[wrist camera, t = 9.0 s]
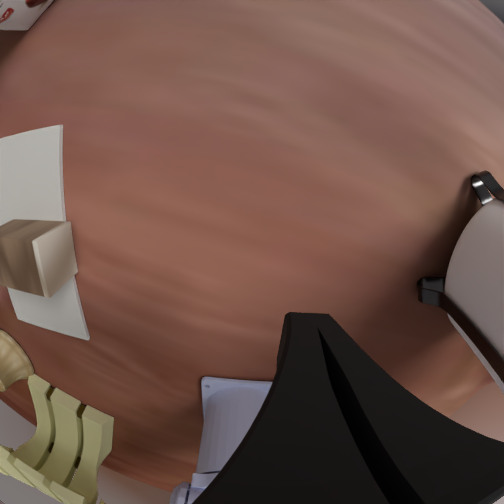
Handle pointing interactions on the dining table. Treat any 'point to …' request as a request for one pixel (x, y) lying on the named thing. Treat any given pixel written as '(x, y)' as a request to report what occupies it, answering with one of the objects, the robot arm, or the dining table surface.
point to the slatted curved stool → (61, 446)
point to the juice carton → (21, 13)
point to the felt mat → (39, 208)
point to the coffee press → (476, 280)
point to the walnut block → (36, 256)
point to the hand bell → (12, 362)
